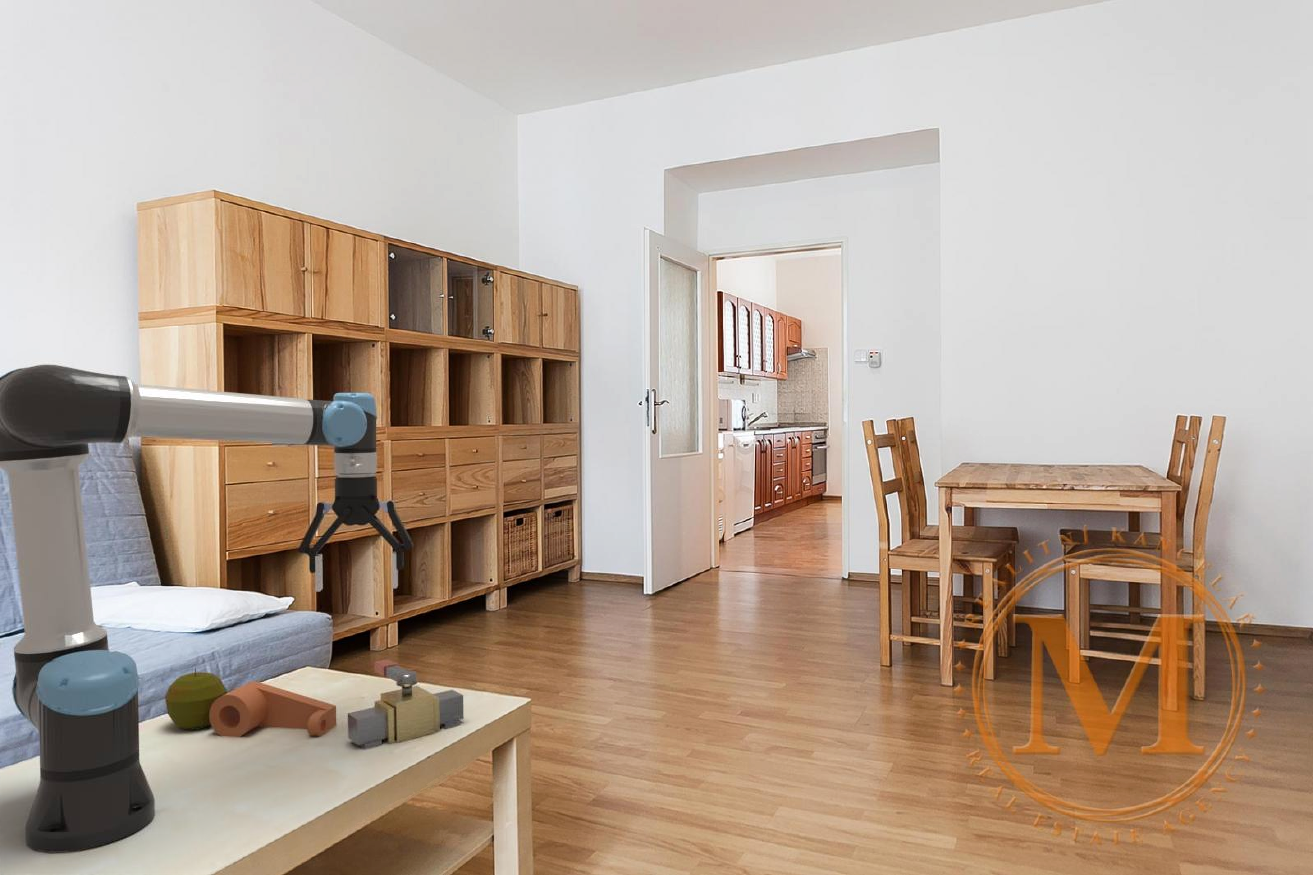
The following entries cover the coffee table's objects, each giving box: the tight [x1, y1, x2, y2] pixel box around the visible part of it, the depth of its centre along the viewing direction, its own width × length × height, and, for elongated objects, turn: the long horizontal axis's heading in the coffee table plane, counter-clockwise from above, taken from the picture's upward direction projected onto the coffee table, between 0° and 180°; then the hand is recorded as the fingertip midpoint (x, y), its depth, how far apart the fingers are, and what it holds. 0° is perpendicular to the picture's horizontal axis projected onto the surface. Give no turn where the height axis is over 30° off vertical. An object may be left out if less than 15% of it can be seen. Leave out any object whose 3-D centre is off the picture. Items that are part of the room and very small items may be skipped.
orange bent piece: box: [209, 681, 337, 738], centre depth 159 cm, size 20×8×8 cm, turn 82°
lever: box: [374, 659, 418, 688], centre depth 161 cm, size 13×4×2 cm, turn 40°
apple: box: [164, 668, 228, 731], centre depth 162 cm, size 10×10×11 cm
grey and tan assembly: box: [347, 685, 465, 750], centre depth 158 cm, size 20×7×8 cm, turn 130°
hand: (357, 588), depth 164 cm, fingers open, 13 cm apart
